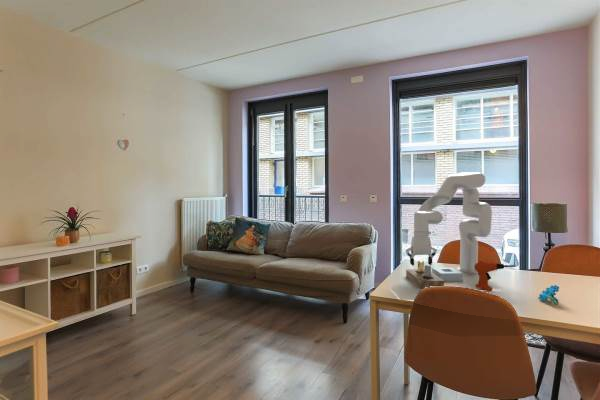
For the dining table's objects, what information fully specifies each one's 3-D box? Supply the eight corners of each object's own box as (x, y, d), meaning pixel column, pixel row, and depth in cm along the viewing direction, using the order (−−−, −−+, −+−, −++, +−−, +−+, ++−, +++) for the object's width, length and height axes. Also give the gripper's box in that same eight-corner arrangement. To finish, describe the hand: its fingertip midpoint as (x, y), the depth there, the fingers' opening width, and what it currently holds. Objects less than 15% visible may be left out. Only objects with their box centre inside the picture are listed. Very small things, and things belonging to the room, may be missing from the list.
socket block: (452, 275, 199) (452, 267, 199) (462, 282, 187) (462, 273, 187) (431, 276, 199) (432, 267, 199) (440, 282, 187) (440, 273, 187)
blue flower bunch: (536, 292, 165) (555, 280, 160) (546, 302, 164) (566, 290, 159) (538, 302, 156) (558, 290, 151) (549, 313, 154) (569, 301, 149)
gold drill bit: (422, 278, 191) (422, 260, 191) (424, 280, 188) (424, 262, 187) (416, 278, 191) (416, 260, 191) (418, 280, 188) (418, 262, 187)
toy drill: (519, 291, 166) (515, 261, 166) (475, 291, 175) (472, 262, 175) (517, 288, 171) (514, 259, 171) (475, 288, 179) (472, 260, 179)
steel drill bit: (429, 284, 181) (429, 265, 181) (431, 285, 178) (432, 266, 178) (423, 284, 181) (423, 265, 181) (425, 285, 178) (425, 267, 178)
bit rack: (427, 277, 196) (427, 269, 196) (443, 290, 174) (444, 280, 174) (406, 278, 196) (406, 269, 195) (420, 290, 174) (420, 281, 173)
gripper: (434, 232, 192) (433, 262, 193) (403, 233, 192) (403, 263, 193) (439, 234, 185) (439, 266, 186) (407, 235, 184) (407, 266, 186)
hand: (421, 264), depth 189 cm, fingers open, 9 cm apart
